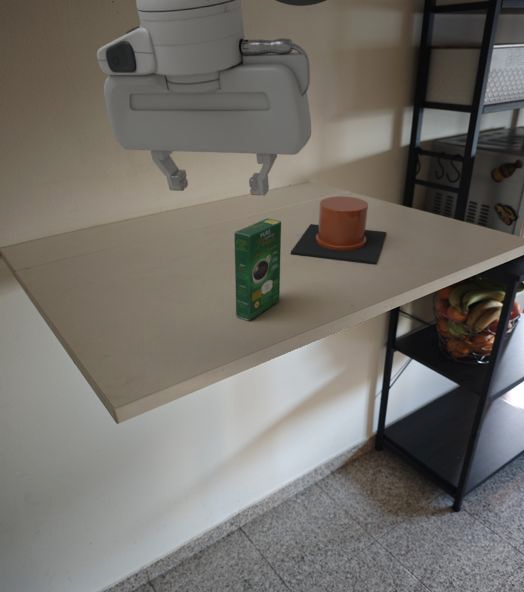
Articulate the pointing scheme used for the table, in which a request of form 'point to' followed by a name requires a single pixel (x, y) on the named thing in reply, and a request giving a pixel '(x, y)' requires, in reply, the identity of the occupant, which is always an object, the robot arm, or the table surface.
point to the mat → (362, 255)
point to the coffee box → (257, 267)
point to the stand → (342, 223)
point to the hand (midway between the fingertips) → (218, 190)
